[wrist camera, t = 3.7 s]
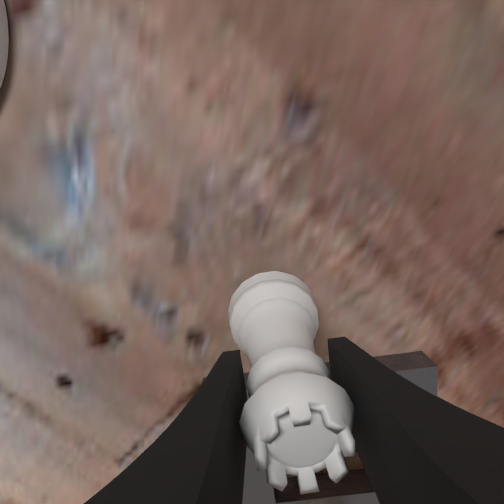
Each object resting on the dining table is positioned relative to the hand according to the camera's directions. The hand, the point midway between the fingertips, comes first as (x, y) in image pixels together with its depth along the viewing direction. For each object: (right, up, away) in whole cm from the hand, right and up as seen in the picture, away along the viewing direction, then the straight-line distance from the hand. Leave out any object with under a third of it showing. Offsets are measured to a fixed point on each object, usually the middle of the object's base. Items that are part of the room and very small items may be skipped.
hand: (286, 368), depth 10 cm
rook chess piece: (0, +1, +5) cm, 5 cm away
